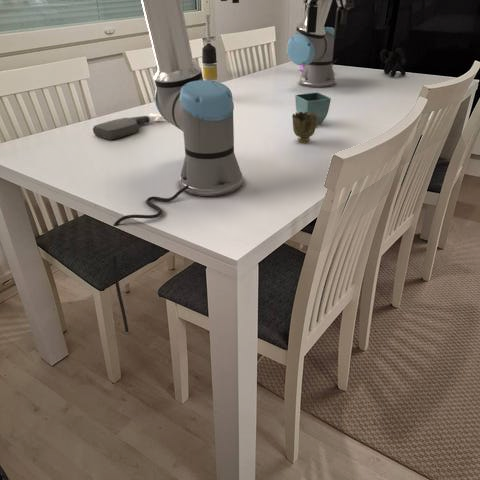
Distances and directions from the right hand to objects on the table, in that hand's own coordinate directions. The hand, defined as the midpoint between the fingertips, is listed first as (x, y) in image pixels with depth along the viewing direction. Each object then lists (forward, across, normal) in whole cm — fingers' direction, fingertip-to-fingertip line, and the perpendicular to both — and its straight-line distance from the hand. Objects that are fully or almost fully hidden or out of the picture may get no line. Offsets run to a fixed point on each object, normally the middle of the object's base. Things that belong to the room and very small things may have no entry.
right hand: (229, 2), depth 189 cm
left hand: (+3, -85, +6) cm, 85 cm away
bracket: (+32, +6, -46) cm, 56 cm away
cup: (+32, -86, +11) cm, 93 cm away
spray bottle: (+32, -51, +56) cm, 82 cm away
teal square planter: (+32, -72, 0) cm, 79 cm away
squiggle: (+32, -25, -72) cm, 83 cm away
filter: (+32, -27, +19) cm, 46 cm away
